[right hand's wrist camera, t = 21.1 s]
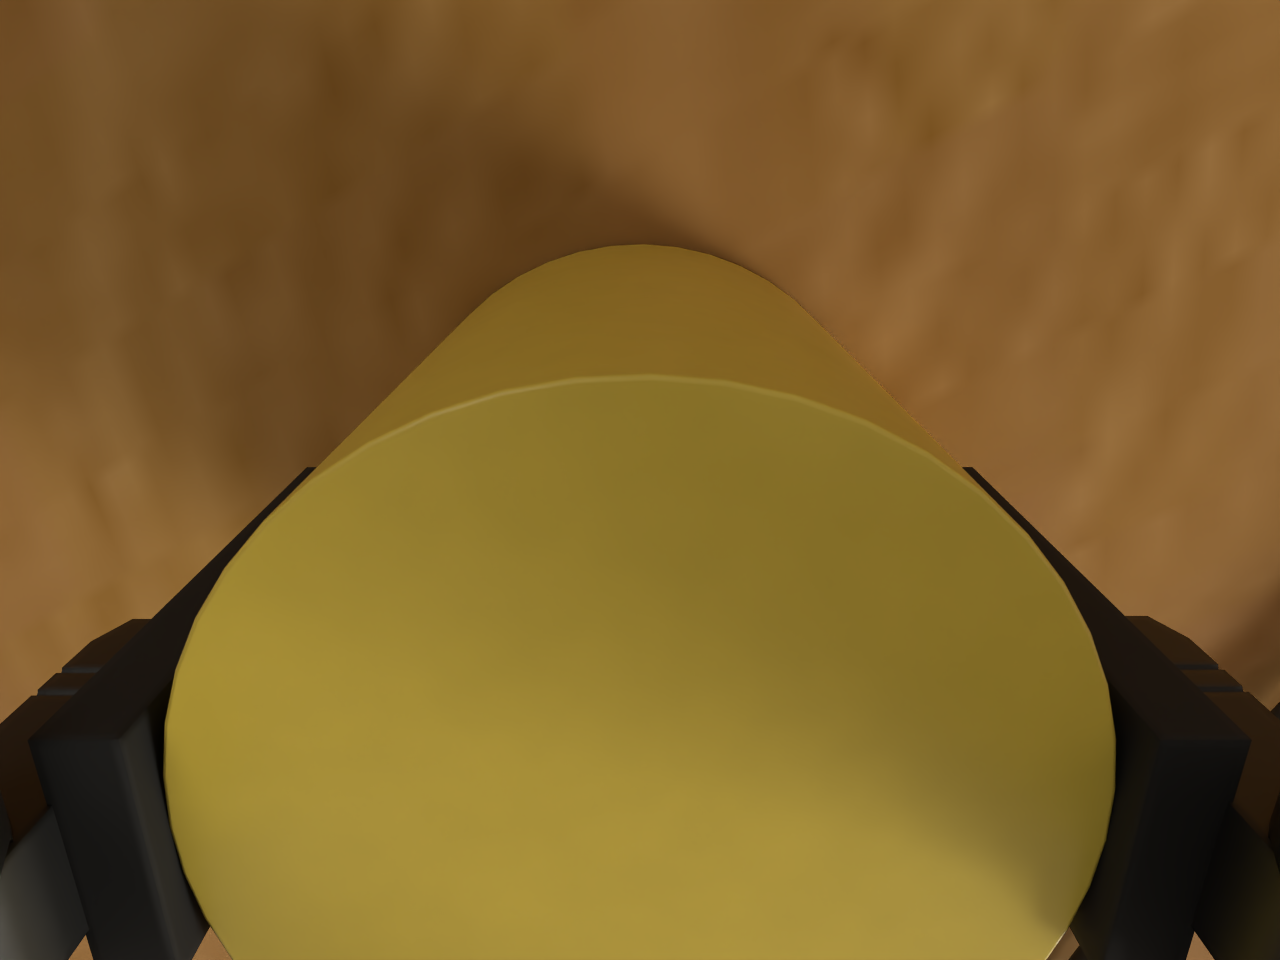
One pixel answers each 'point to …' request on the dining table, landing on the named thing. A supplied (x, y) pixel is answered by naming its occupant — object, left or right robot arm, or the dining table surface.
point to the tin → (639, 661)
